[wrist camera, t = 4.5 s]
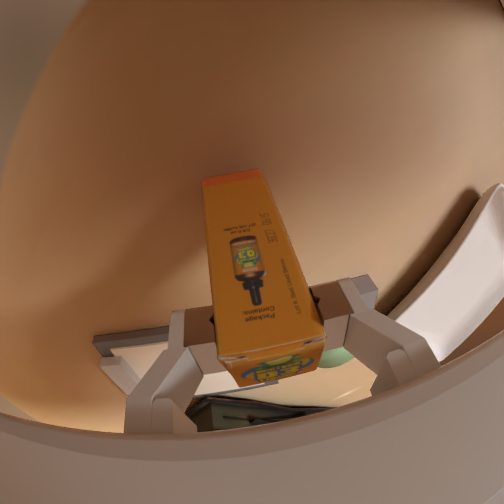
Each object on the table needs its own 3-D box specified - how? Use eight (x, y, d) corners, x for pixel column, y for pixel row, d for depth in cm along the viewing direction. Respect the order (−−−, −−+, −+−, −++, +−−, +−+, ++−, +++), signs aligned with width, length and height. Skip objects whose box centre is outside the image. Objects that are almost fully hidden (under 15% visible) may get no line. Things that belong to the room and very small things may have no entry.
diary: (278, 441, 47) (283, 462, 43) (156, 431, 36) (157, 459, 32) (349, 404, 39) (358, 429, 35) (210, 390, 28) (214, 432, 24)
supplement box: (212, 226, 17) (232, 393, 10) (200, 176, 14) (212, 358, 7) (267, 216, 17) (318, 376, 10) (263, 165, 14) (332, 333, 7)
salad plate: (352, 328, 27) (365, 353, 24) (479, 165, 18) (504, 179, 16) (431, 348, 36) (441, 364, 33) (515, 247, 27) (529, 260, 24)
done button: (352, 303, 22) (367, 329, 20) (347, 335, 25) (359, 359, 23) (304, 316, 22) (315, 345, 20) (304, 347, 25) (313, 373, 22)
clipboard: (266, 307, 23) (271, 325, 21) (276, 377, 30) (280, 392, 28) (92, 336, 22) (87, 353, 20) (144, 396, 29) (143, 410, 27)
